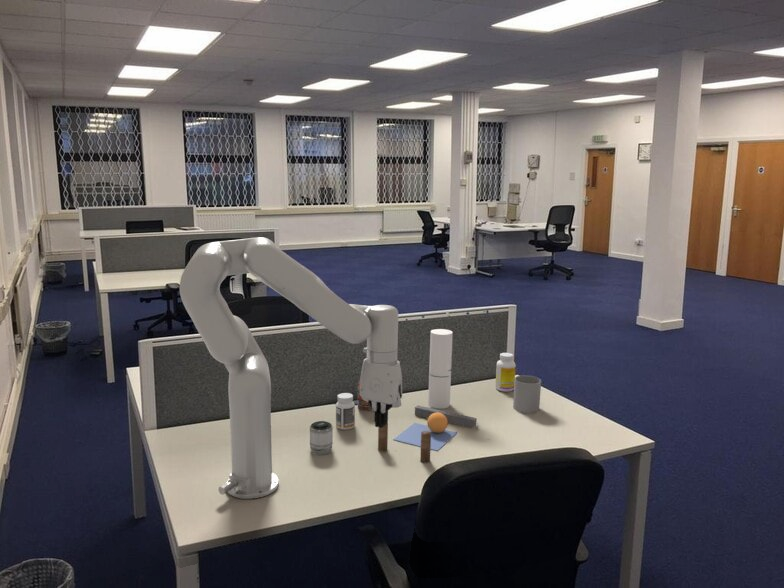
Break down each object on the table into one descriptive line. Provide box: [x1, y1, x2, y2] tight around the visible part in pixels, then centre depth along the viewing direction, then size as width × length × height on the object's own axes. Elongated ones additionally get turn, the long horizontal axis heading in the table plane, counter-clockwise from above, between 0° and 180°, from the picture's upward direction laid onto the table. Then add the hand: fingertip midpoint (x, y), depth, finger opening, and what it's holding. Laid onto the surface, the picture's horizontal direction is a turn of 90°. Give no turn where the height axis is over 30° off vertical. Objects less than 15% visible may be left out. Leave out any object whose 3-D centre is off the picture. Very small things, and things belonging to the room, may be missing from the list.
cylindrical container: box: [427, 328, 454, 410], centre depth 207 cm, size 7×7×25 cm
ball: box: [426, 412, 449, 433], centre depth 187 cm, size 6×6×6 cm
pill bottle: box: [335, 392, 356, 431], centre depth 190 cm, size 6×6×10 cm
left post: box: [377, 422, 389, 453], centre depth 175 cm, size 3×3×8 cm
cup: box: [512, 374, 542, 414], centre depth 207 cm, size 8×8×10 cm
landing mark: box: [393, 422, 458, 452], centre depth 185 cm, size 14×14×1 cm
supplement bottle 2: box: [495, 352, 517, 393], centre depth 224 cm, size 7×7×13 cm
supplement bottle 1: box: [357, 380, 373, 412], centre depth 204 cm, size 6×6×11 cm
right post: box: [420, 431, 431, 464], centre depth 169 cm, size 3×3×8 cm
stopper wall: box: [414, 405, 478, 429], centre depth 196 cm, size 2×20×2 cm, turn 62°
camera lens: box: [309, 420, 334, 456], centre depth 174 cm, size 6×6×8 cm
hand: (381, 425), depth 159 cm, fingers closed
